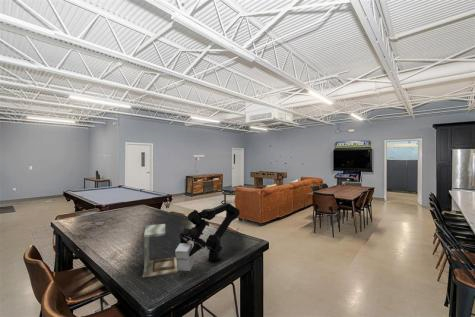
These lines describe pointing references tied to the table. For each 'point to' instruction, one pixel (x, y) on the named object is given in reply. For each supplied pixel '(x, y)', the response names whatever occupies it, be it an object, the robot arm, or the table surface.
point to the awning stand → (160, 264)
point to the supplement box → (184, 257)
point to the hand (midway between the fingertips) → (184, 253)
